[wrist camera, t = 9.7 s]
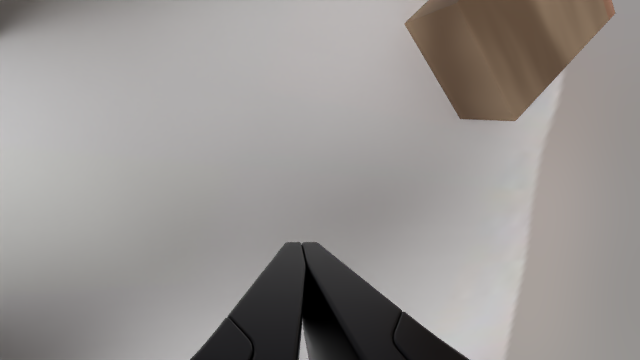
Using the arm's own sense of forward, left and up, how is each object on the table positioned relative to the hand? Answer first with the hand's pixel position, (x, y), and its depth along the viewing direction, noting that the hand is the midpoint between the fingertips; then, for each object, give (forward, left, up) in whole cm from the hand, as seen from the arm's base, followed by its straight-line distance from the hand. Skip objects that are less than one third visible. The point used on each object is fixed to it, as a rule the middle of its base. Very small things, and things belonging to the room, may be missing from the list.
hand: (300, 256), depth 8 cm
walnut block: (+10, -8, -7) cm, 15 cm away
